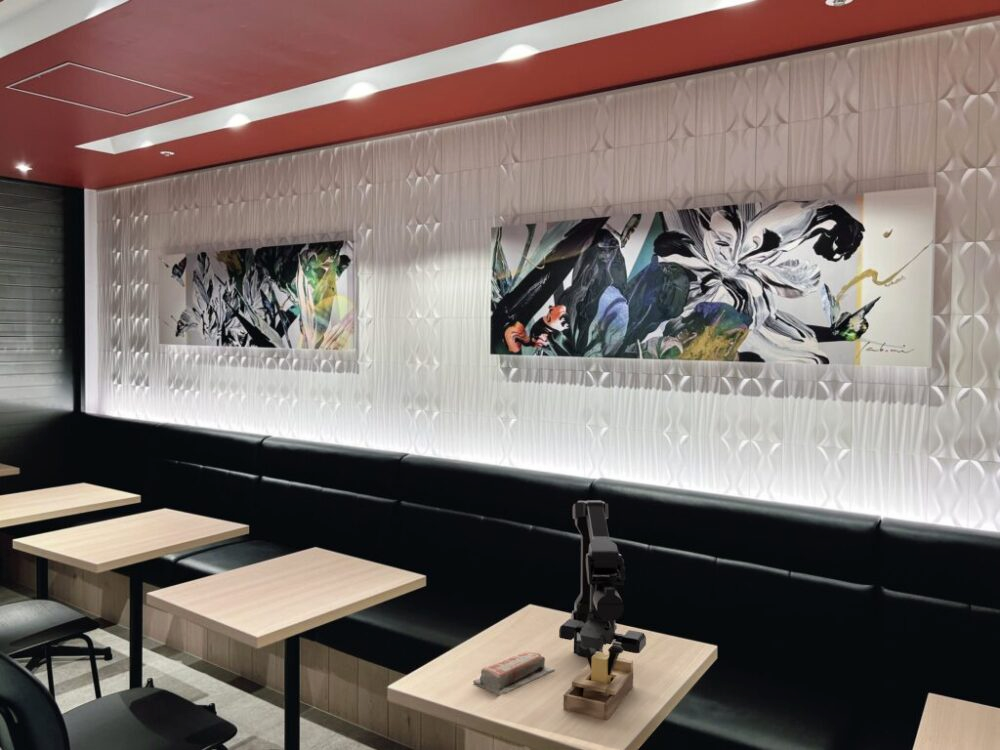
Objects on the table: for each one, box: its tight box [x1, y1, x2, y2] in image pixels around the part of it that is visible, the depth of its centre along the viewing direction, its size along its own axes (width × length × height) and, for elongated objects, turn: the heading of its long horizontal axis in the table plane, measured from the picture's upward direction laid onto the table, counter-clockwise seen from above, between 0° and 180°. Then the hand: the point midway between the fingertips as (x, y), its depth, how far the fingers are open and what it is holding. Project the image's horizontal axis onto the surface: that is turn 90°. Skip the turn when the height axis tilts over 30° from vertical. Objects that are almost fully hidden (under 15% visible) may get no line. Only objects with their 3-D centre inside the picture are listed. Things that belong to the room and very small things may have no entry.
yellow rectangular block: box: [591, 651, 611, 693], centre depth 177 cm, size 4×4×9 cm
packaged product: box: [472, 651, 555, 696], centre depth 187 cm, size 18×5×10 cm
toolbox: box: [562, 672, 634, 721], centre depth 176 cm, size 10×18×4 cm, turn 153°
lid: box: [571, 657, 634, 695], centre depth 178 cm, size 10×13×3 cm
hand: (601, 672), depth 177 cm, fingers closed on yellow rectangular block, 3 cm apart
